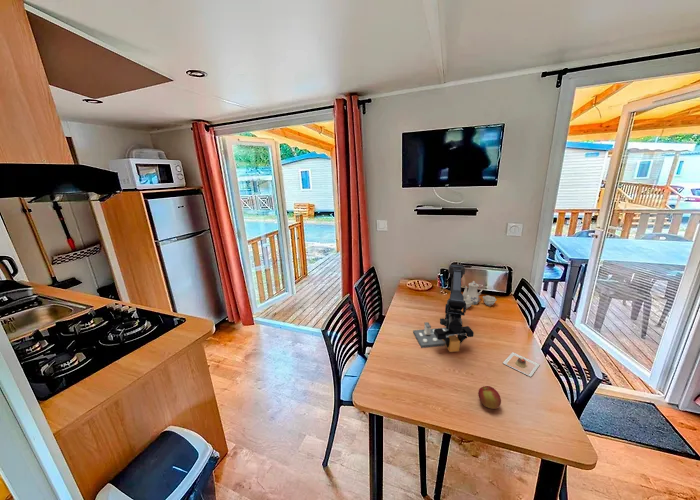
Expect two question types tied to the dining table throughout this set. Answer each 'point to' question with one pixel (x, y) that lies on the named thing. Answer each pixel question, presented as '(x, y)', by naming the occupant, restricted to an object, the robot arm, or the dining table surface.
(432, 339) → the breaker panel
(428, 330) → the lever
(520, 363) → the dessert
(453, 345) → the mustard yellow cube
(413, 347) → the dining table surface
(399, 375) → the dining table surface
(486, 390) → the apple
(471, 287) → the chinaware
